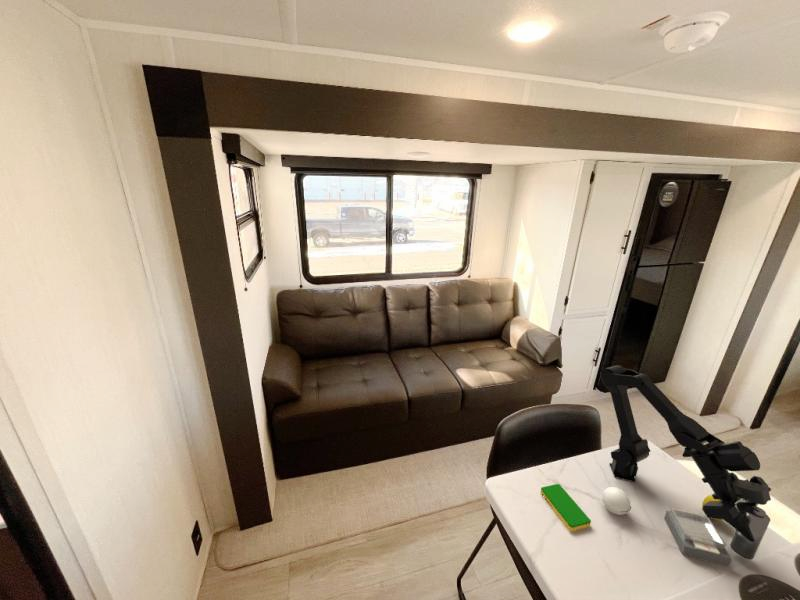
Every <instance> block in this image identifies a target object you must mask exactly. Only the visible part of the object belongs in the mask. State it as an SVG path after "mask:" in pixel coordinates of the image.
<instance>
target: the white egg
mask: <svg viewBox="0 0 800 600" xmlns="http://www.w3.org/2000/svg"><path fill="white" fill-rule="evenodd" d="M601 495H602V497H601V498H602V502H603V504H604V505H603V506H604V507H605V508H606V509H607V510H608V511H609V512H611V513H613V514H615V515H618V516H624V515H625V514H628V513H629V512H630V511H631V510H632V506H631V505H632V504H631V500H630V498H629V495H628V494H626V492H624V491H623V490H622V489H620V488H618V487H616V486H615V487H613V486H609V487H607V488H605V489H604V490H603V492H602V494H601Z"/></svg>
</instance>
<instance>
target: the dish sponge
mask: <svg viewBox="0 0 800 600" xmlns="http://www.w3.org/2000/svg"><path fill="white" fill-rule="evenodd" d="M541 493H542V494H543V496H544V497H545V498H546V500H547V501H548V502H549V503H548V502H547V501H546V500H545V501H546V502H547V503H548V505H549V504H550V505H551V506H550V505H549V506H550V508H551V509H552V508H553V509H554V510H553V509H552V510H553V511H554V512H556V513H555V514H556V515H557V517H558V518H559V517H560V518H559V519H560V520H561V521H563V522H562V523H563V524H564V525H566V526H565V527H566V528H567V530H568V531H570V532H571V531H572V532H574V531H578V530H583V529H586V527H587V528H590V527H591V522H592V520H591V519H590V518H589V516H588V515H586V513H585V511H583V510H582V509H581V507H580V506H579V504H577V503H576V501H575V500H574V499H573V498H572V497H571V496H570V495H569V494H568V492H567V491H566V490H565V489H564V488H563V486H562V485H561V484H560V483H556V484H552V485H551V484H550V485H547V486H542V487H541V488H540V494H541ZM542 494H541V495H542ZM543 496H542V497H543ZM544 497H543V498H544ZM545 498H544V499H545ZM582 528H583V529H582Z"/></svg>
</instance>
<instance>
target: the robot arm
mask: <svg viewBox="0 0 800 600" xmlns="http://www.w3.org/2000/svg"><path fill="white" fill-rule="evenodd" d="M599 375H600V379H601V381H602V384H603V387H605V388H606V390H607V391H608V392H609V393H610V396H611V400H612V404H613V408H614V412H615V416H616V420H617V423H618V427H619V432H620V437H619V441H618V448H616V449H613V450H611V452H610V456H611V459H612V461H611V463H609V466H610V470H611V472H612V475H613V477H614V478H615V479H621V480H625V481H630V482H634V483H636V481H637V479H636V478H637V474H638V471H639V466H638V463H639V462H642V461H644V460H646V459H647V458H649V456H650V452H651V449H650V447H649V443H648V442H649V441H648V440H647V439H645V438H642V436H640V435H639V433H638V429H637V426H636V421H635V417H634V413H633V410H632V409H633V408H632V407H631V401H630V398H629V395H628V389H629V387H632V388H636V390H637V391H638V392H639V393H640V394H641V395H642V396H643V397H644V398H645V399H646V401H648V402H649V404H650V405H651V406H652V408H653V409H654V410H656V412H657V413H659V415H660V416H661V417H662V418H663V420H664V421H665V422H666V424H667V426H668V429H669V432H670V433H671V435H672V436H673V438H674V439H675V441H676V442H677V443H678V444H679V445H680V446H682V447H684V449H683V450H684V451H683V453H682V454H681V456H682V457H683V458H692V459H693V461H694V463H695V465H696V466H697V468H698V469H699V471H700V472H701V474H702V476H703V478H701V480H702V482H703V483H704V484H706V483H707V484H708V485H709V487H710V488H711V490H712V491H713V493H712V494H711V495H712V497H713V498H714V499H720V501H709V502H707V503H706V504H705V505H703V507H702V508H701V510H702V511H703V513H704V516H706V517H707V518H709V519H712V518H716V519H723V520H722V521H724V522H726V523H727V524H728V525H730V526H731V527H732V528H734V529H735V531H736V530H737V531H738V532H740V533H741V534H742V535H743V536H744V537H746V538H747V539H748V540H749V541H753V542H754V541H755V539H754V537H753V535H752V533H751V531H750V529H749V527H748V526H747V524H746V522H745V520H744V516H745V513H746V512H744V509H745V507H746V506H751V507H752V506H757V507H758V505H760V506H762V505H763V506H764V505H767V503H768V502H770V501H771V500H772V499H771V494H770V492H771V491H772V488H771V487H770V486H769V484H768V483H766V481H765V480H764V478H762V476H757V475H753V476H751V478H750V479H745V480H744V479H740V478H739V477H738V476H737V474H736V473H735V472H748V471H749V472H750V471H751V472H752V471H754V472H755V471H759V470H760V469H761V463H760V460H759V458H758V456H757V455H756V453H755V452H754V451H752V449H750V448H749V447H747V446H745V445H744V444H743V443H742V442H741V441H740V440H738V441H733V442H727V443H725V442H724V441H723V440H722V439H720V438H719V437H717V436H715V435H713V434H712V433H711V432H708V431H707V429H706V428H705V427H703V425H701V424H700V423H699V422H697V420H695V419H694V418H692V417H690V416H687V415H686V414H684V412H682V411H681V410H680V409H679V408H678V407H677V406H676V404H674V403H673V401H671V400H670V399H669V398H668V397H667V396H666V394H664V392H662V390H661V389H660V388H659V387H658V386H657V385H656V384H655V383H654V382H653V381H652V379H651V377H650V376H649V375H648V374H645V373H640V372H639V371H638V372H637V371H636V370H633V369H630V368H629V369H628V368H625V367H624V366H622V365H618V364H617V365H614V366H609V367H606V368H603V369H602V370H601V371H600V374H599Z"/></svg>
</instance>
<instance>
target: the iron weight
mask: <svg viewBox="0 0 800 600" xmlns="http://www.w3.org/2000/svg"><path fill="white" fill-rule="evenodd" d="M744 512H746V513H745V516H744V520H745V522H746V524H747V526H748V527H749V529H750V531H751V533H752V535H753V537H754V539H755V541H754V542H753V541H749V540H748V539H747V538H746V537H744V536H743V535H742V534H741V533H740V532H738V531H737V530H736V529H735V531H734V534H733V537H732V538H731V541H730V543H729V544H730V545H729V547H730V548H731V550H732V551H733V553H735V554H736V555H738V556H739V557H742V559H743V558H744V559H746V560H753V559H754V558H755V557H756V553H757V551H758V549H759V547H760V545H761V543H762V541H763V538H764V536H765V534H766V532H767V529H768V527H769V525H770V523H771V517H769V515H768V514H767V512H766V511H765V510H764V509H763V508H761V507H759V506H758V505H757V506H752V507H751V506H746V507H745V509H744Z"/></svg>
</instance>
